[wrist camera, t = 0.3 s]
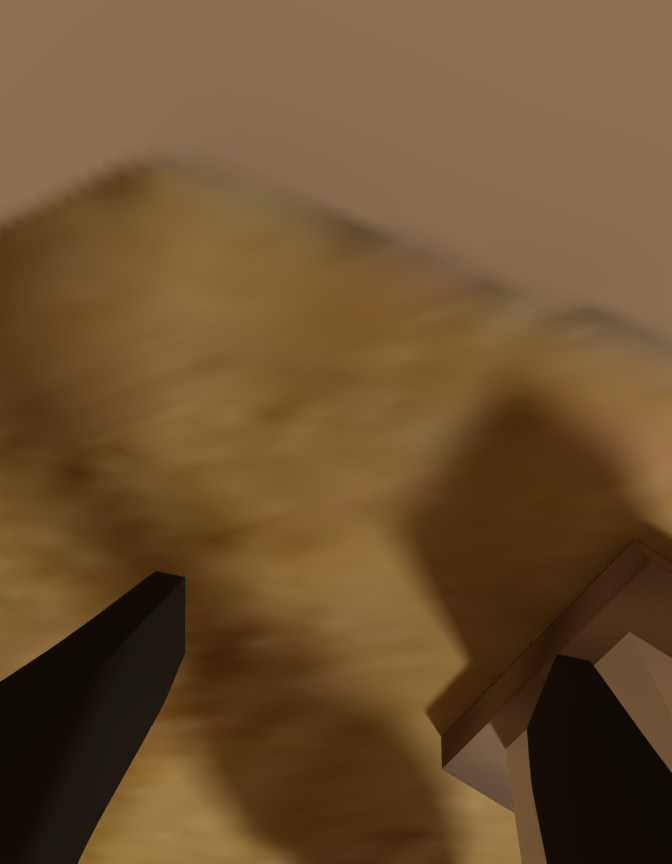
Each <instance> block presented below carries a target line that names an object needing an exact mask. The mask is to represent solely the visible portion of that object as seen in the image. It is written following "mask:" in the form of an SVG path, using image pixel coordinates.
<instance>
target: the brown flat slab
mask: <svg viewBox="0 0 672 864" xmlns="http://www.w3.org/2000/svg"><path fill="white" fill-rule="evenodd" d="M629 632H631V633H632V634H634V635H635V636H637V637H639V638H640V639H642V640H643V641H645V642H647V643H648V644H650V645H652V646H653V647H655V648H656V649H658V650H660V651H661V652H663V653H664V654H666V655H668V656H669V657H671V658H672V562H670V561H669V560H667V559H665V558H664V557H662V556H661V555H659V554H657V553H656V552H654V551H653V550H651V549H649V548H648V547H646V546H645V545H643V544H641V543H640V542H638V541H637V540H634V541H633V542H632V543H631V544H630V545H629V546H628V547H627V548H626V549H625V550H624V551H623V552H622V553H621V554H620V555H619V556H618V557H617V558H616V559H615V560H614V561H613V562H612V563H611V564H610V565H609V566H608V567H607V568H606V569H605V570H604V571H603V573H602V574H601V575H600V576H599V577H598V578H597V579H596V580H595V581H594V582H593V583H592V584H591V585H590V586H589V587H588V588H587V589H586V590H585V591H584V592H583V593H582V594H581V595H580V596H579V597H578V598H577V599H576V600H575V601H574V602H573V603H572V604H571V605H570V606H569V607H568V608H567V609H566V611H565V612H564V613H563V614H562V615H561V616H560V617H559V618H558V619H557V620H556V621H555V622H554V623H553V624H552V625H551V626H550V627H549V628H548V629H547V630H546V631H545V632H544V633H543V634H542V635H541V636H540V637H539V638H538V639H537V640H536V641H535V642H534V643H533V644H532V645H531V646H530V648H529V649H528V650H527V651H526V652H525V653H524V654H523V655H522V656H521V657H520V658H519V659H518V660H517V661H516V662H515V663H514V664H513V665H512V666H511V667H510V668H509V669H508V670H507V671H506V672H505V673H504V674H503V675H502V676H501V677H500V678H499V679H498V680H497V681H496V682H495V683H494V684H493V686H492V687H491V688H490V689H489V690H488V691H487V692H486V693H485V694H484V695H483V696H482V697H481V698H480V699H479V700H478V701H477V702H476V703H475V704H474V705H473V706H472V707H471V708H470V709H469V710H468V711H467V712H466V713H465V714H464V715H463V716H462V717H461V718H460V719H459V720H458V721H457V723H456V724H455V725H454V726H453V727H452V728H451V729H450V730H449V731H448V732H447V733H446V734H445V735H444V736H443V737H442V738H441V747H442V770H444V771H446V772H447V773H449V774H451V775H452V776H454V777H456V778H457V779H459V780H461V781H462V782H464V783H466V784H467V785H469V786H471V787H472V788H474V789H476V790H477V791H479V792H480V793H482V794H484V795H485V796H487V797H489V798H490V799H492V800H494V801H495V802H497V803H499V804H500V805H502V806H504V807H505V808H507V809H509V810H510V811H512V812H514V805H513V798H512V792H511V785H510V778H509V771H508V764H507V757H506V750H505V749H506V748H507V747H508V746H509V745H510V744H511V743H512V742H514V741H515V740H516V739H517V738H518V737H519V736H520V735H521V734H522V733H523V732H524V731H525V730H526V729H527V726H528V724H529V721H530V719H531V716H532V714H533V711H534V709H535V706H536V704H537V701H538V699H539V696H540V694H541V691H542V689H543V686H544V684H545V681H546V679H547V676H548V674H549V671H550V669H551V667H552V664H553V662H554V659H555V657H556V654H560V655H564V656H569V657H574V658H579V659H584V660H589V661H591V663H592V664H593V665H595V664H596V663H597V662H598V661H599V660H600V659H601V658H602V657H603V656H605V655H606V654H607V653H608V652H609V651H610V650H611V649H612V648H613V647H614V646H615V645H616V644H617V643H618V642H619V641H620V640H621V639H623V638H624V637H625V636H626V635H627V634H628V633H629ZM514 813H515V812H514Z"/></svg>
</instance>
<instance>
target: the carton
mask: <svg viewBox="0 0 672 864" xmlns="http://www.w3.org/2000/svg"><path fill="white" fill-rule="evenodd" d="M594 667H595V668H596V669H597V671H598V672H599V673H600V675H601V676H602V678H603V679H604V680H605V682H606V683H607V685H608V686H609V687H610V689H611V690H612V692H613V693H614V694H615V696H616V697H617V699H618V700H619V701H620V703H621V704H622V706H623V707H624V708H625V710H626V711H627V713H628V714H629V715H630V717H631V718H632V719H633V721H634V722H635V724H636V725H637V726H638V728H639V729H640V731H641V732H642V733H643V735H644V736H645V737H646V739H647V740H648V741H649V743H650V744H651V745H652V747H653V748H654V750H655V751H656V752H657V754H658V755H659V756H660V758H661V759H662V760H663V762H664V763H665V764H666V766H667V767H668V768H669V770H670V771H671V772H672V658H671V657H669V656H668V655H666V654H664V653H663V652H661V651H660V650H658V649H656V648H655V647H653V646H652V645H650V644H648V643H647V642H645V641H643V640H642V639H640V638H639V637H637V636H635V635H634V634H632V633H631V632H629V633H628V634H627V635H626V636H625V637H624V638H623V639H621V640H620V641H619V642H618V643H617V644H616V645H615V646H614V647H613V648H612V649H611V650H610V651H609V652H608V653H607V654H606V655H605V656H603V657H602V658H601V659H600V660H599V661H598V662H597V663H596V664H595V665H594ZM505 750H506V757H507V764H508V771H509V778H510V785H511V792H512V798H513V805H514V812H515V819H516V826H517V833H518V840H519V846H520V853H521V860H522V864H547V862H546V857H545V852H544V847H543V843H542V838H541V832H540V827H539V822H538V817H537V812H536V807H535V802H534V797H533V791H532V785H531V775H530V764H529V752H528V739H527V729H526V730H525V731H524V732H523V733H522V734H521V735H520V736H519V737H518V738H517V739H516V740H515V741H514V742H512V743H511V744H510V745H509V746H508V747H507V748H506V749H505Z"/></svg>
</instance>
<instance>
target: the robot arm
mask: <svg viewBox="0 0 672 864" xmlns="http://www.w3.org/2000/svg"><path fill="white" fill-rule="evenodd" d="M184 654H185V577H181V576H177V575H172V574H167V573H162V572H157V571H156V572H154V573H153V574H151V575H150V576H148V577H147V578H146V579H144V580H143V581H142V582H140V583H139V584H138V585H136V586H135V587H134V588H132V589H131V590H130V591H129V592H127V593H126V594H125V595H123V596H122V597H121V598H119V599H118V600H117V601H115V602H114V603H113V604H111V605H110V606H109V607H107V608H106V609H105V610H103V611H102V612H101V613H99V614H98V615H97V616H95V617H94V618H93V619H91V620H90V621H89V622H87V623H86V624H84V625H83V626H82V627H80V628H79V629H77V630H76V631H75V632H73V633H72V634H70V635H69V636H68V637H66V638H65V639H64V640H62V641H61V642H59V643H58V644H56V645H55V646H54V647H52V648H51V649H49V650H48V651H46V652H45V653H43V654H42V655H40V656H39V657H37V658H36V659H34V660H33V661H31V662H30V663H28V664H27V665H25V666H23V667H22V668H20V669H19V670H17V671H16V672H14V673H13V674H11V675H10V676H8V677H7V678H5V679H4V680H2V681H0V864H78V862H79V859H80V857H81V855H82V853H83V851H84V849H85V847H86V845H87V843H88V841H89V839H90V837H91V835H92V833H93V831H94V829H95V827H96V825H97V823H98V821H99V820H100V818H101V816H102V814H103V812H104V811H105V809H106V807H107V805H108V803H109V802H110V800H111V798H112V796H113V795H114V793H115V791H116V789H117V787H118V786H119V784H120V782H121V780H122V778H123V777H124V775H125V773H126V771H127V769H128V768H129V766H130V764H131V762H132V760H133V759H134V757H135V755H136V753H137V752H138V750H139V748H140V746H141V744H142V743H143V741H144V739H145V737H146V735H147V733H148V732H149V730H150V728H151V726H152V724H153V723H154V721H155V719H156V717H157V715H158V713H159V712H160V710H161V708H162V706H163V704H164V702H165V700H166V697H167V695H168V693H169V690H170V688H171V686H172V683H173V681H174V679H175V676H176V674H177V671H178V669H179V666H180V664H181V661H182V659H183V657H184ZM527 739H528V752H529V764H530V775H531V785H532V791H533V797H534V802H535V807H536V812H537V817H538V822H539V827H540V832H541V838H542V843H543V847H544V852H545V857H546V862H547V864H672V772H671V771H670V770H669V768H668V767H667V766H666V764H665V763H664V762H663V760H662V759H661V758H660V756H659V755H658V754H657V752H656V751H655V750H654V748H653V747H652V745H651V744H650V743H649V741H648V740H647V739H646V737H645V736H644V735H643V733H642V732H641V731H640V729H639V728H638V726H637V725H636V724H635V722H634V721H633V719H632V718H631V717H630V715H629V714H628V713H627V711H626V710H625V708H624V707H623V706H622V704H621V703H620V701H619V700H618V699H617V697H616V696H615V694H614V693H613V692H612V690H611V689H610V687H609V686H608V685H607V683H606V682H605V680H604V679H603V678H602V676H601V675H600V673H599V672H598V671H597V669H596V668H595V667H594V665H593V664H592V663H591V661H589V660H584V659H579V658H574V657H569V656H564V655H560V654H556V657H555V659H554V662H553V664H552V667H551V669H550V671H549V674H548V676H547V679H546V681H545V684H544V686H543V689H542V691H541V694H540V696H539V699H538V701H537V704H536V706H535V709H534V711H533V714H532V716H531V719H530V721H529V724H528V726H527Z"/></svg>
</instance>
